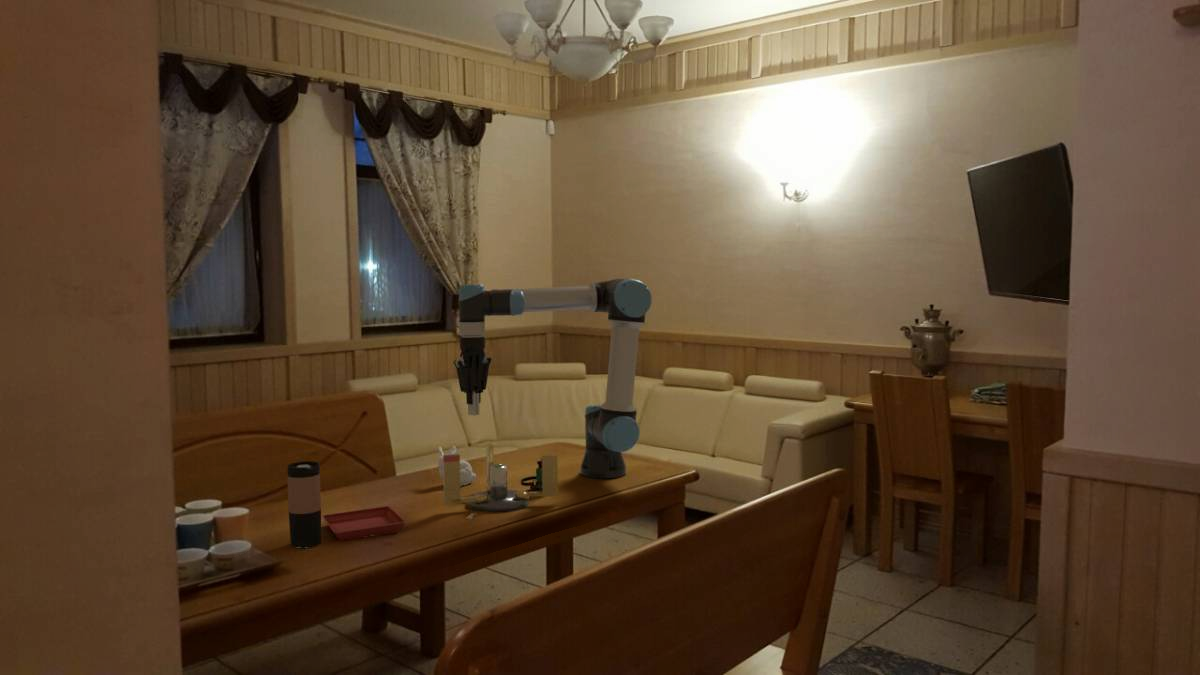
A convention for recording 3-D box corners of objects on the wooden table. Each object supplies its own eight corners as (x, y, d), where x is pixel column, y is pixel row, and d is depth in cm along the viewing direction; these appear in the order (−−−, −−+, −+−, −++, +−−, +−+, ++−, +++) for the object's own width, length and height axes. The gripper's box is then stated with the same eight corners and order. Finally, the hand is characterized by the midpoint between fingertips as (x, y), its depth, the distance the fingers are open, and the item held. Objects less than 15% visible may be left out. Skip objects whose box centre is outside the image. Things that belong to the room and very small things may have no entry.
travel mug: (294, 539, 220) (291, 461, 219) (325, 538, 221) (322, 460, 219) (286, 549, 212) (283, 468, 211) (318, 548, 213) (315, 467, 212)
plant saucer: (334, 545, 217) (334, 531, 217) (321, 526, 233) (321, 514, 233) (406, 534, 225) (406, 521, 225) (389, 517, 241) (389, 505, 241)
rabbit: (440, 489, 271) (439, 451, 270) (434, 482, 280) (433, 445, 279) (478, 485, 276) (478, 447, 275) (471, 478, 284) (470, 442, 283)
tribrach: (570, 494, 263) (569, 447, 261) (533, 524, 232) (532, 470, 231) (488, 489, 270) (487, 443, 269) (442, 517, 239) (441, 465, 238)
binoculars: (522, 457, 270) (553, 455, 268) (526, 491, 271) (557, 489, 269) (514, 463, 262) (546, 461, 260) (518, 498, 262) (550, 496, 260)
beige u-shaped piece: (486, 498, 250) (485, 451, 249) (488, 502, 246) (488, 454, 245) (443, 502, 246) (442, 454, 245) (445, 506, 242) (444, 457, 241)
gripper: (481, 334, 268) (482, 410, 269) (446, 337, 257) (447, 416, 259) (497, 335, 263) (499, 413, 264) (462, 338, 252) (464, 418, 254)
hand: (473, 414), depth 262 cm, fingers closed
